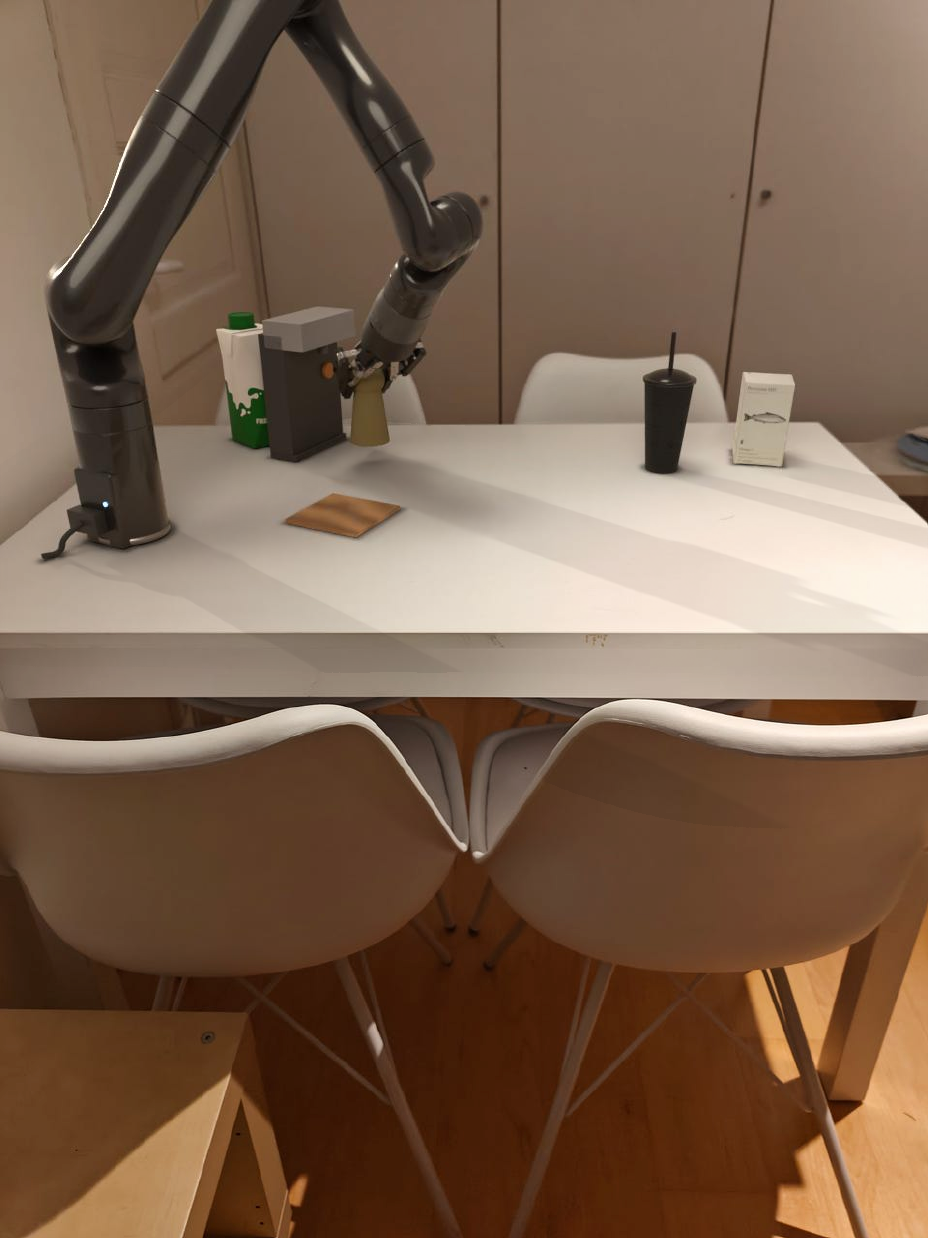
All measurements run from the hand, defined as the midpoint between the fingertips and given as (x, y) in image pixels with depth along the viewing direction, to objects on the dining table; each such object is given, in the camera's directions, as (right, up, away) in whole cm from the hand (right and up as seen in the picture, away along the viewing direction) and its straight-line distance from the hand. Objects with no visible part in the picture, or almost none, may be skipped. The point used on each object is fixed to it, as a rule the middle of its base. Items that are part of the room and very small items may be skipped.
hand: (361, 390), depth 138 cm
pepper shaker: (+1, -7, +2) cm, 8 cm away
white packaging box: (+61, -9, +6) cm, 62 cm away
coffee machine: (-9, -6, +12) cm, 16 cm away
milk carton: (-19, -4, +17) cm, 25 cm away
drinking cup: (+45, -11, +2) cm, 46 cm away
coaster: (-1, -20, -15) cm, 25 cm away
